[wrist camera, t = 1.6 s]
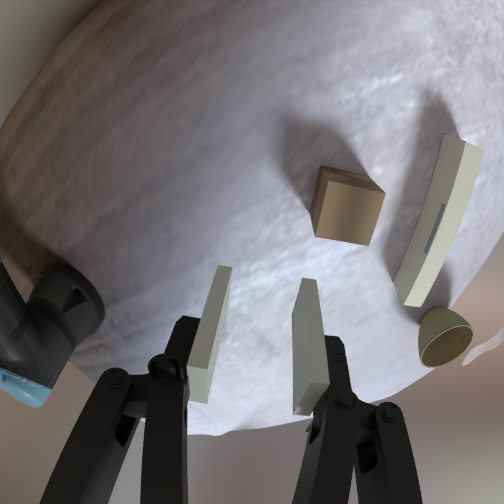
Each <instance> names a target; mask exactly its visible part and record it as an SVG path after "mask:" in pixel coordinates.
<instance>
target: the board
mask: <svg viewBox="0 0 504 504" xmlns="http://www.w3.org/2000/svg"><path fill="white" fill-rule="evenodd" d="M483 151H484V150H482V149H480V148H478V147H476V146H474V145H472V144H470V143H468V142H466V141H464V140H461V139H458V138H456V137H453V136H450V135H448V134H445V133H444V135H443V139H442V143H441V147H440V151H439V155H438V159H437V163H436V166H435V170H434V173H433V177H432V180H431V183H430V187H429V190H428V193H427V196H426V199H425V202H424V205H423V208H422V211H421V214H420V217H419V220H418V222H417V225H416V228H415V231H414V233H413V236H412V238H411V241H410V244H409V246H408V249H407V251H406V253H405V256H404V258H403V261H402V263H401V265H400V268H399V270H398V272H397V275H396V277H395V279H394V281H393V284H394V286H395V288H396V290H397V292H398V295H399V297H400V299H401V301H402V303H403V305H406V306H416V307H421V306H422V304H423V302H424V300H425V299H426V297H427V295H428V293H429V291H430V289H431V287H432V285H433V283H434V281H435V279H436V277H437V275H438V273H439V271H440V269H441V267H442V265H443V263H444V261H445V258H446V256H447V254H448V252H449V250H450V247H451V245H452V243H453V240H454V238H455V235H456V233H457V231H458V228H459V226H460V223H461V220H462V218H463V215H464V212H465V210H466V207H467V204H468V201H469V198H470V195H471V192H472V189H473V186H474V183H475V180H476V177H477V173H478V170H479V166H480V163H481V159H482V155H483Z"/></svg>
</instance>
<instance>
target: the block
mask: <svg viewBox="0 0 504 504" xmlns="http://www.w3.org/2000/svg"><path fill="white" fill-rule="evenodd" d="M385 194H386V193H385V192H384V191H383V190H382V189H381V188H380V187H379V186H378V185H377V184H376V183H375V182H374V181H373V180H372V179H371V178H370V177H369V176H365V175H361V174H357V173H352V172H348V171H343V170H338V169H334V168H329V167H324V166H320V169H319V173H318V178H317V183H316V188H315V192H314V197H313V201H312V206H311V210H310V217H311V221H312V226H313V230H314V234H315V237H319V238H325V239H331V240H337V241H343V242H349V243H355V244H360V245H366V246H369V244H370V241H371V238H372V235H373V232H374V229H375V226H376V223H377V220H378V217H379V214H380V210H381V207H382V204H383V201H384V197H385Z"/></svg>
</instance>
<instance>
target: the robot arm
mask: <svg viewBox="0 0 504 504" xmlns="http://www.w3.org/2000/svg"><path fill="white" fill-rule="evenodd" d="M2 261H3V260H2V258H1V257H0V388H1V389H2V390H3V391H5V392H6V393H8V394H9V395H10V396H12V397H14V398H15V399H17V400H18V401H20V402H22V403H24V404H26V405H29V406H31V407H40V406H41V405H42V404H43V403H44V401H45V400H46V398H47V397H48V395H49V394H50V393H51V392H52V388H53V386H54V384H55V383H56V381H57V379H58V377H59V375H60V374H61V372H62V370H63V368H64V366H65V365H66V363H67V361H68V359H69V358H70V356H71V354H72V353H73V351H74V349H75V348H76V346H77V345H78V344H80V343H81V342H82V341H83V340H85V339H86V338H87V337H88V336H89V335H91V334H93V333H95V332H96V331H97V330H98V328H99V327H100V325H101V324H102V322H103V320H104V316H105V311H104V306H103V303H102V300H101V298H100V296H99V295H98V293H97V291H96V290H95V289H94V287H93V286H92V285H91V284H90V283H89V282H88V280H87V279H85V278H84V277H83V276H82V275H81V274H80V273H78V272H77V271H75V270H74V269H72V268H70V267H68V266H66V265H63V264H50V265H48V266H47V267H46V268H45V269H44V270H43V271H42V272H41V273H40V274H39V276H38V277H37V280H36V285H35V286H34V288H33V290H32V292H31V295H30V297H29V300H28V302H27V303H25V302H24V300H23V298H22V297H21V295H20V293H19V292H18V290H17V288H16V287H15V285H14V283H13V281H12V279H11V278H10V276H9V274H8V272H7V270H6V268H5V266H4V264H3V262H2ZM231 275H232V267H227V266H221V265H218V267H217V270H216V273H215V276H214V279H213V282H212V285H211V289H210V292H209V295H208V298H207V301H206V304H205V307H204V311H203V314H202V317H201V319H200V318H194V317H189V316H184V315H183V316H182V317H181V318H180V319H179V320H178V321H177V322H176V323H175V326H174V329H173V332H172V334H171V336H170V339H169V341H168V344H167V347H166V349H165V352H164V354H159V355H156V356H154V357H153V358H152V359H151V360H150V361H149V363H148V370H149V373H148V374H143V375H129V374H128V373H127V371H125V370H123V369H121V368H110V369H108V370H106V371H104V373H103V374H102V375H101V376H100V378H99V380H98V382H97V384H96V386H95V387H94V389H93V391H92V393H91V395H90V397H89V399H88V400H87V402H86V405H85V406H84V408H83V410H82V412H81V414H80V416H79V418H78V420H77V422H76V424H75V426H74V428H73V430H72V432H71V434H70V436H69V438H68V440H67V442H66V444H65V446H64V448H63V451H62V453H61V455H60V457H59V459H58V461H57V464H56V466H55V468H54V470H53V472H52V475H51V477H50V479H49V482H48V484H47V486H46V489H45V492H44V494H43V496H42V498H41V501H40V503H39V504H108V502H109V499H110V496H111V493H112V491H113V488H114V485H115V482H116V480H117V477H118V474H119V472H120V469H121V466H122V464H123V461H124V459H125V456H126V454H127V451H128V448H129V446H130V443H131V441H132V438H133V436H134V433H135V431H136V428H137V426H138V423H139V421H140V418H146V420H145V430H144V442H143V455H142V471H141V496H140V497H141V498H140V499H141V500H140V504H188V481H187V404H188V400H189V399H190V401H195V402H200V403H205V404H207V401H208V397H209V392H210V387H211V383H212V378H213V373H214V369H215V364H216V359H217V355H218V350H219V346H220V341H221V337H222V332H223V328H224V323H225V319H226V314H227V310H228V304H229V295H230V285H231ZM292 344H293V415H305V416H310V414H311V413H312V411H313V420H312V422H311V423H310V425H309V426H308V427H307V429H306V432H308V431H309V434H308V439H307V444H306V448H305V453H304V457H303V461H302V466H301V470H300V474H299V478H298V482H297V486H296V490H295V494H294V497H293V501H292V504H348V499H349V493H350V487H351V480H352V472H353V466H354V468H355V475H356V483H357V492H358V502H359V504H423V503H422V497H421V491H420V486H419V480H418V476H417V470H416V466H415V461H414V457H413V452H412V448H411V444H410V440H409V436H408V432H407V428H406V425H405V421H404V417H403V413H402V411H401V409H400V408H399V407H398V406H397V405H396V404H394V403H392V402H384V403H381V404H380V405H379V406H375V405H372V404H369V403H365V402H363V401H361V400H359V399H358V397H357V396H356V394H355V393H354V392H353V391H352V388H351V383H350V377H349V371H348V365H347V359H346V356H345V354H346V353H345V347H344V344H343V343H342V341H341V339H340V338H339V337H338V336H327V335H324V330H323V323H322V316H321V309H320V302H319V295H318V288H317V282H316V280H315V279H308V278H302V281H301V285H300V288H299V292H298V295H297V299H296V302H295V306H294V309H293V313H292Z"/></svg>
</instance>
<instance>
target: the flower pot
mask: <svg viewBox="0 0 504 504" xmlns="http://www.w3.org/2000/svg"><path fill="white" fill-rule="evenodd" d="M473 336H474V330H473V329H472V327H471V326H470V325H469V323H468V322H467V321H466V320H465V319H464V318H463V317H461V316H460V315H459V314H457V313H455V312H454V311H452V310H449V309H447V308H444V307H436V308H433V309H431V310H430V311H428V312H427V313H426V314H425V315H424V316H423V318H422V320H421V324H420V329H419V338H418V348H419V356H420V361H421V364H422V365H423V366H425V367H428V368H435V367H440V366H443V365H446V364H448V363H450V362H452V361H453V360H455V359H456V358H458V357H459V356H460V355H462V354H463V353H464V352H465V351H466V349H467V348H468V347H469V345H470V344H471V342H472V340H473Z"/></svg>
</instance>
